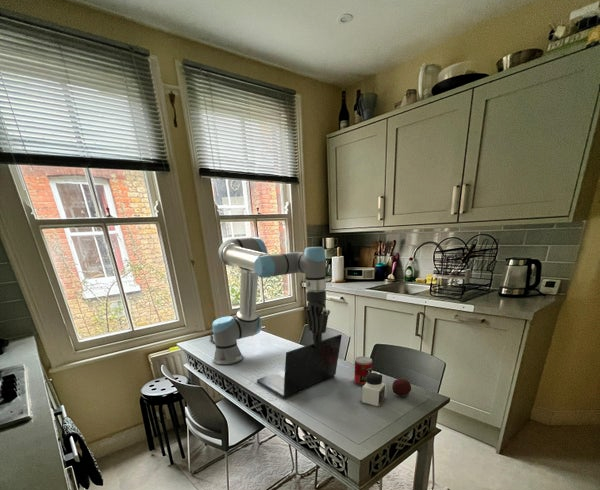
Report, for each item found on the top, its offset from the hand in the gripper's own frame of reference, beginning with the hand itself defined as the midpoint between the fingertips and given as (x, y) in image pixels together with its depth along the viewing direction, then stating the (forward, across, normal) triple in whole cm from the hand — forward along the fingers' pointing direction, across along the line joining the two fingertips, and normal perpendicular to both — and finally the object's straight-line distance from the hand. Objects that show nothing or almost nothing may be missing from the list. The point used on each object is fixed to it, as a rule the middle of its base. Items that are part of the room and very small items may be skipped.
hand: (317, 348), depth 129 cm
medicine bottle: (+21, +21, +11) cm, 31 cm away
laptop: (+20, -16, 0) cm, 26 cm away
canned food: (+21, +7, +21) cm, 30 cm away
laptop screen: (+8, -4, 0) cm, 9 cm away
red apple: (+21, +26, +23) cm, 40 cm away
